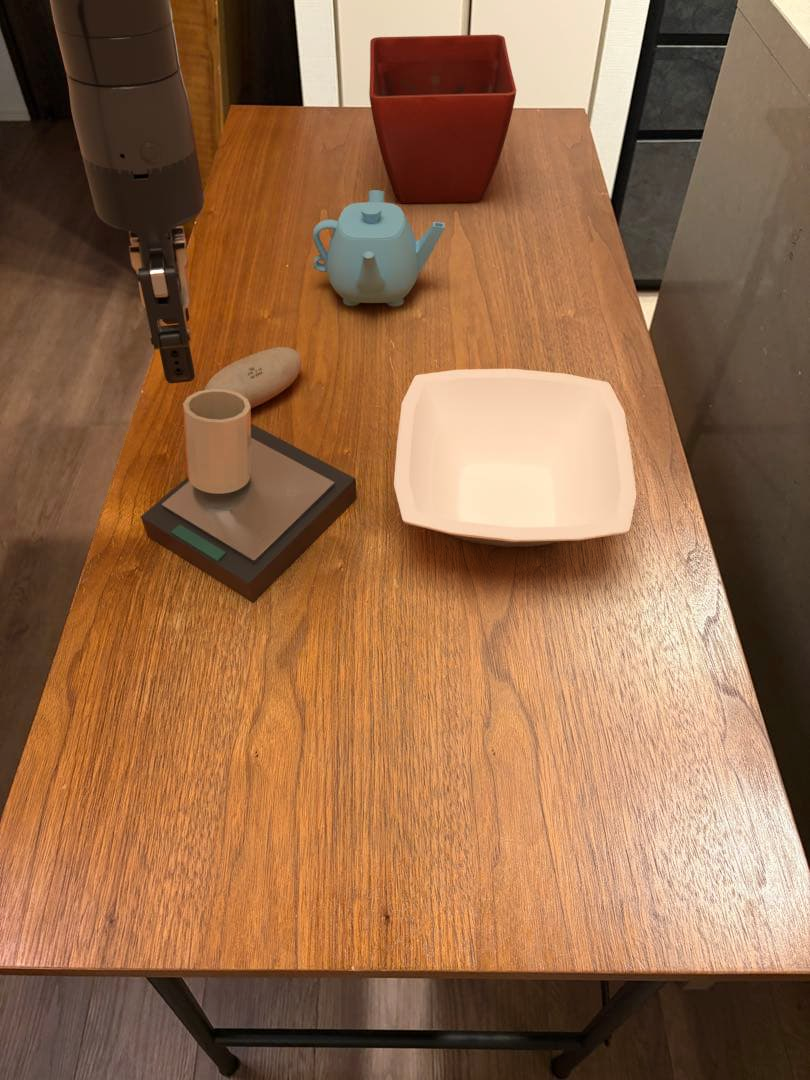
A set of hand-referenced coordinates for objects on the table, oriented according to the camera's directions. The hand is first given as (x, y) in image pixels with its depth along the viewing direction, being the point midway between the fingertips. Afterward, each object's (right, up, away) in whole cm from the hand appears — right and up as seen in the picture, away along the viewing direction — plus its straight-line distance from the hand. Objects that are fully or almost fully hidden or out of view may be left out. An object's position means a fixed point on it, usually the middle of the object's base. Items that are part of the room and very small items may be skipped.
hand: (178, 349), depth 68 cm
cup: (0, -9, +15) cm, 17 cm away
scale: (+3, -13, +17) cm, 22 cm away
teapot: (+15, +17, +42) cm, 48 cm away
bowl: (+29, -12, +18) cm, 36 cm away
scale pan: (+3, -11, +15) cm, 19 cm away
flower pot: (+23, +39, +59) cm, 74 cm away
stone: (+1, +1, +29) cm, 29 cm away
